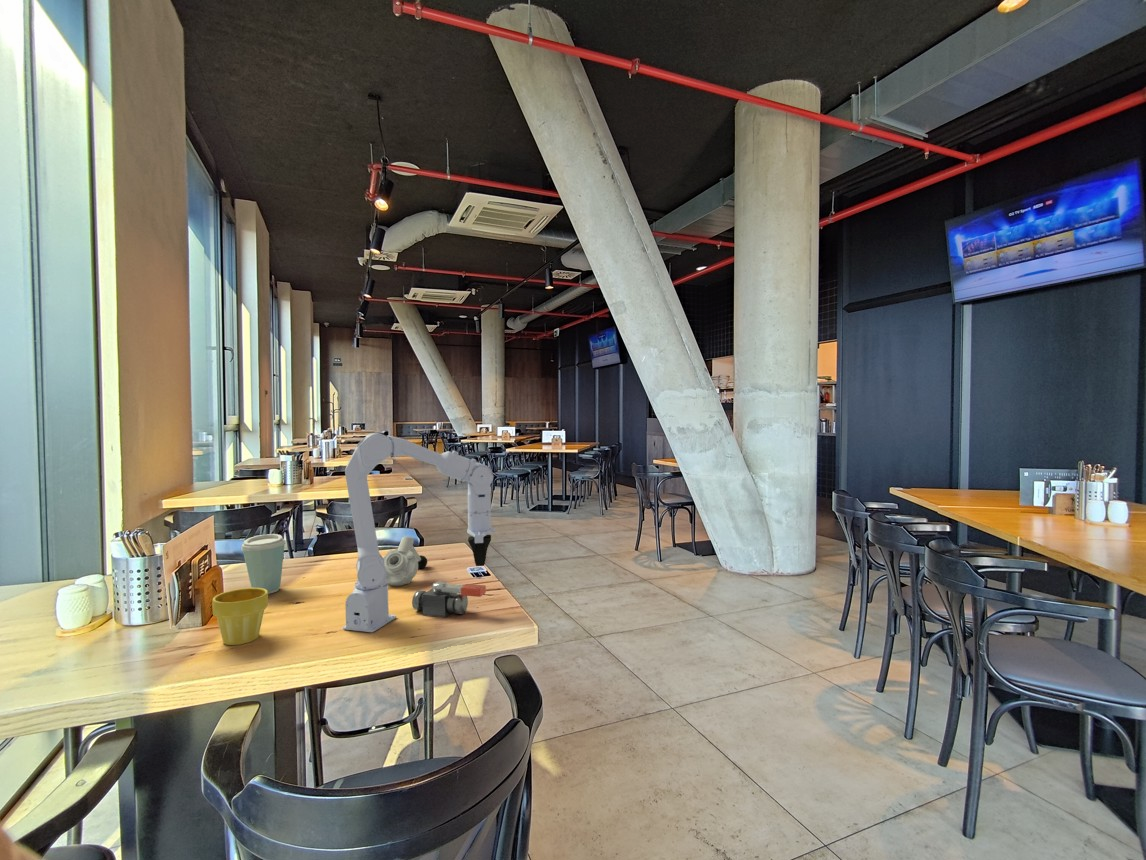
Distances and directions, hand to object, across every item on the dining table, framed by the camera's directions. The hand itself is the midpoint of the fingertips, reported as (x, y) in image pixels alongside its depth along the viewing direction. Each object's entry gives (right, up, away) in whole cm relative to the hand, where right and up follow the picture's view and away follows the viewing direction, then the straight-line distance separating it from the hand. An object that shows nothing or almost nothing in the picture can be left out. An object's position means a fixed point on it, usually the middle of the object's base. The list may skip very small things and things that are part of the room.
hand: (480, 565), depth 136 cm
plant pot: (-49, -12, -18) cm, 53 cm away
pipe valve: (-9, -11, -3) cm, 14 cm away
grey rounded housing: (-26, -10, +26) cm, 38 cm away
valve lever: (-5, -5, -5) cm, 9 cm away
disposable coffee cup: (-62, -11, +13) cm, 64 cm away
